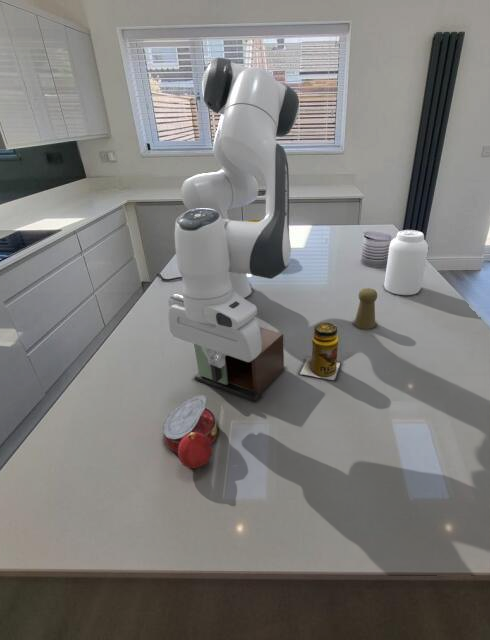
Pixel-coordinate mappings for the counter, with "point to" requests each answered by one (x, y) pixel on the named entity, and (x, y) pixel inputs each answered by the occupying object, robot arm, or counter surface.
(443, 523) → the counter surface
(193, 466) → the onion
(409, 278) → the white jar
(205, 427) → the canned food
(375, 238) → the can
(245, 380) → the cabinet
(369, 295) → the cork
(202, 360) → the sliding door
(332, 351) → the condiment
